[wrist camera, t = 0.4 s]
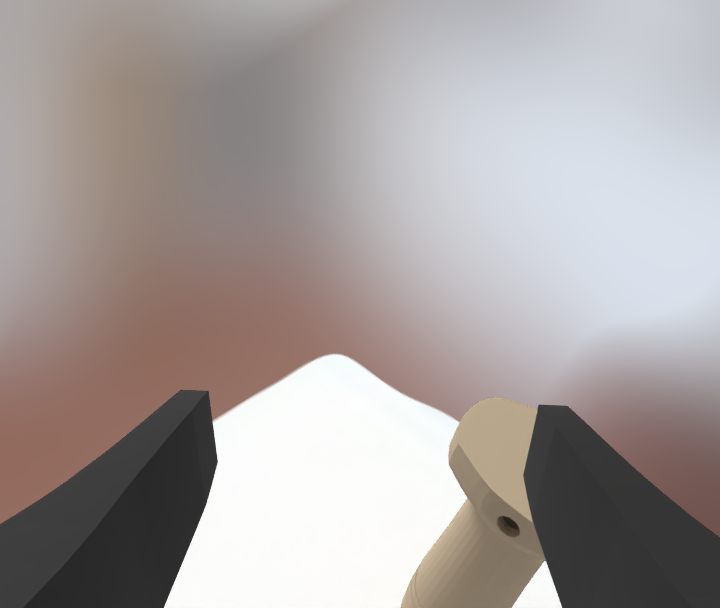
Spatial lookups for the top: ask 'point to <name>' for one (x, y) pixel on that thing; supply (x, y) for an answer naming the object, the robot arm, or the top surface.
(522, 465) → the handle
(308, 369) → the top surface
